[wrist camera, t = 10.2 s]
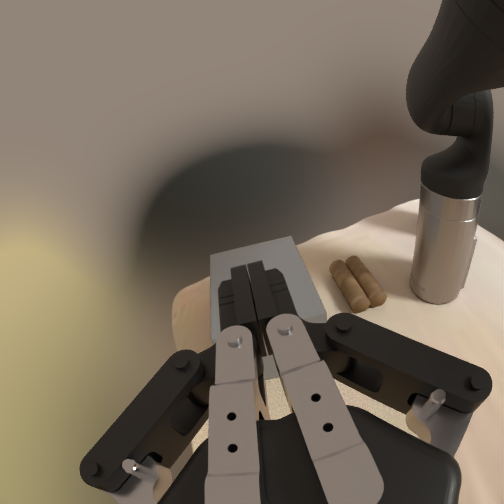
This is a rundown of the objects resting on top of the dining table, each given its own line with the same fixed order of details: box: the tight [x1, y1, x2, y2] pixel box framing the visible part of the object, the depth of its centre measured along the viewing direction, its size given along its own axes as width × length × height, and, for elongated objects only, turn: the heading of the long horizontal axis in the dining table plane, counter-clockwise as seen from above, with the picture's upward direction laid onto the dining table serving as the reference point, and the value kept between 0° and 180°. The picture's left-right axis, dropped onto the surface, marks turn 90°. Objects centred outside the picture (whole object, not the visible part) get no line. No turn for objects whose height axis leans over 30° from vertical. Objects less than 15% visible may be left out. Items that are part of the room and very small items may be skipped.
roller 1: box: [329, 260, 370, 313], centre depth 43 cm, size 3×10×3 cm, turn 8°
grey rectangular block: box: [210, 236, 327, 380], centre depth 38 cm, size 12×16×10 cm
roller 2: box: [345, 256, 387, 308], centre depth 43 cm, size 3×10×3 cm
